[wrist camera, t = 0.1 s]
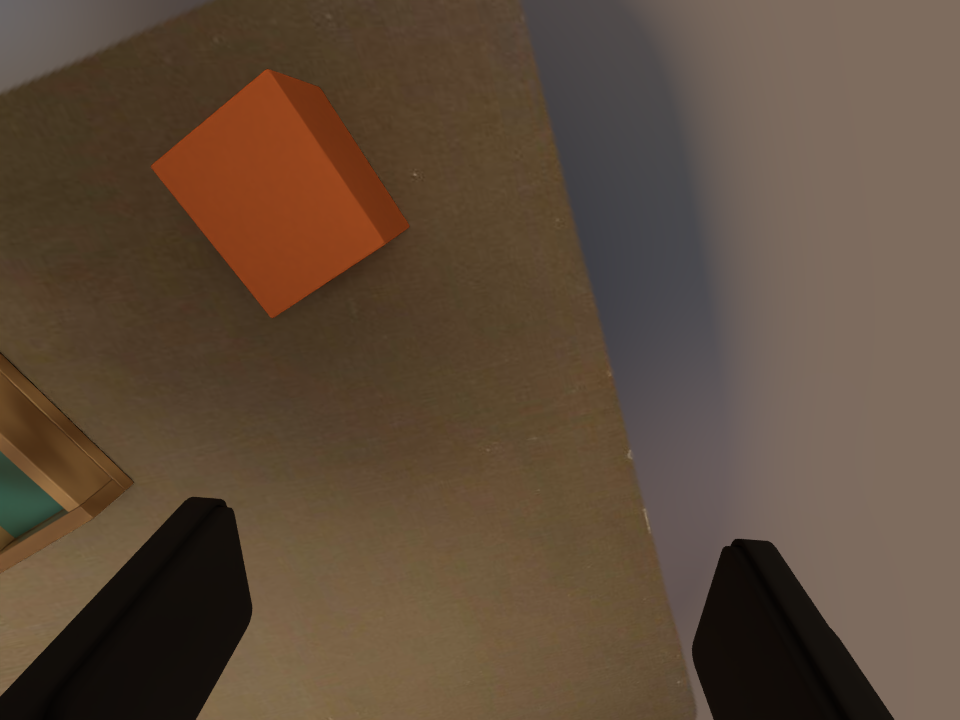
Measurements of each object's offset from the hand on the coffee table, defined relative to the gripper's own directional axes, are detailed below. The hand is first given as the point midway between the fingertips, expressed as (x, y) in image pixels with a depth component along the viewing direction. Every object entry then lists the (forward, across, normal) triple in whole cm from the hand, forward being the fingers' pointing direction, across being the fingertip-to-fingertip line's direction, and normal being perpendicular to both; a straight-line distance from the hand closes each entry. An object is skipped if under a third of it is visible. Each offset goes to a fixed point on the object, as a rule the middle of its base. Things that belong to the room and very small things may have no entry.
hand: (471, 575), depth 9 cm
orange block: (+17, +9, -5) cm, 20 cm away
